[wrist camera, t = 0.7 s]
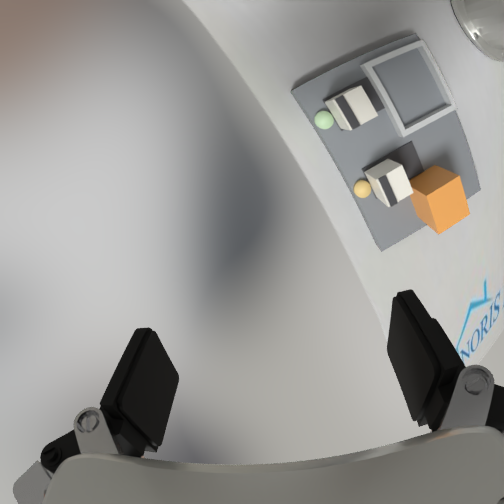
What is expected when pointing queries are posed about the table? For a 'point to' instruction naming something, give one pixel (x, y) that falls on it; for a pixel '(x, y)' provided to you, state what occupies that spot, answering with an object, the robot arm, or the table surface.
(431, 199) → the cap
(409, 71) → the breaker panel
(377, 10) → the table surface
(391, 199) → the cube with dark stripe
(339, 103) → the toggle
